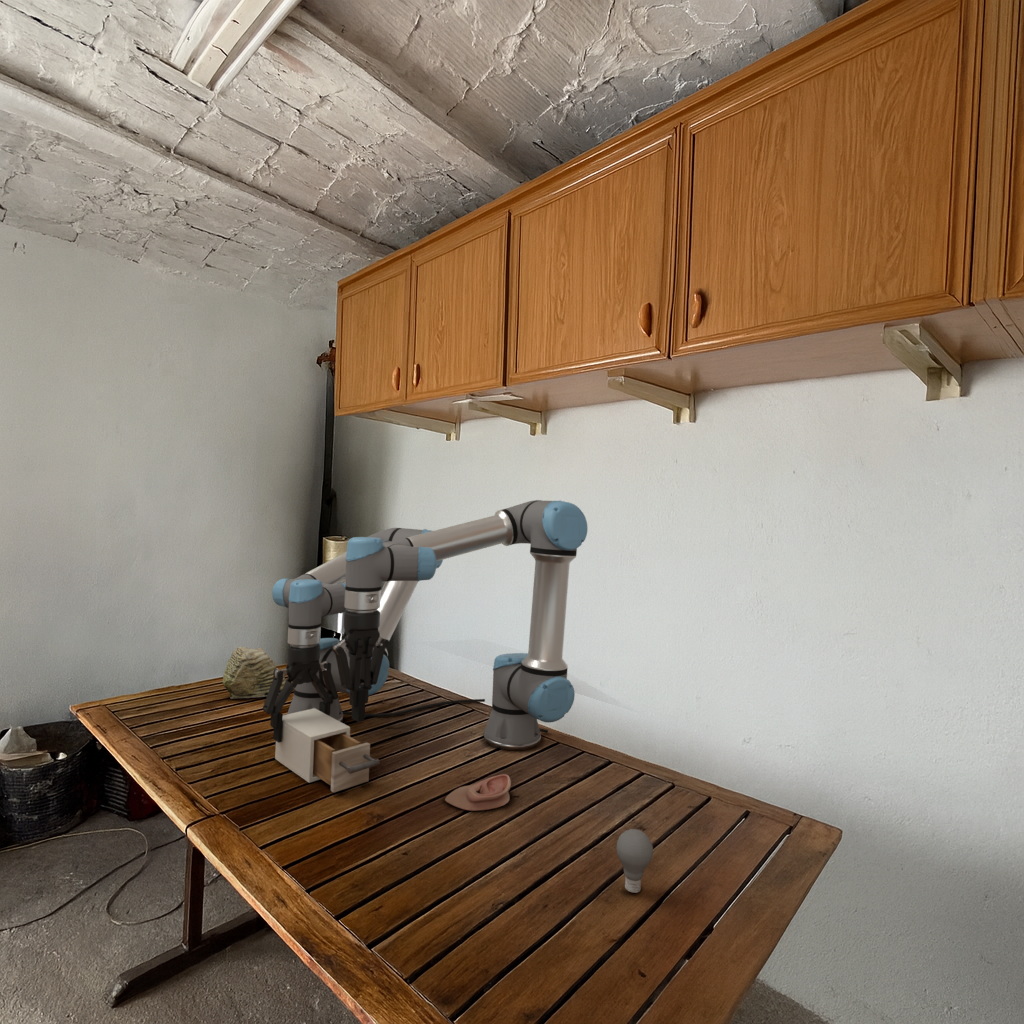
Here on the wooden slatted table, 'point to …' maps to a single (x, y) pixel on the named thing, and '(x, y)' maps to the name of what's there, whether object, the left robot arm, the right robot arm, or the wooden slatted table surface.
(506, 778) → the anatomical model
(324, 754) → the drawer
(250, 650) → the fossil
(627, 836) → the light bulb
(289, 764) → the cabinet
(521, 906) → the wooden slatted table surface
